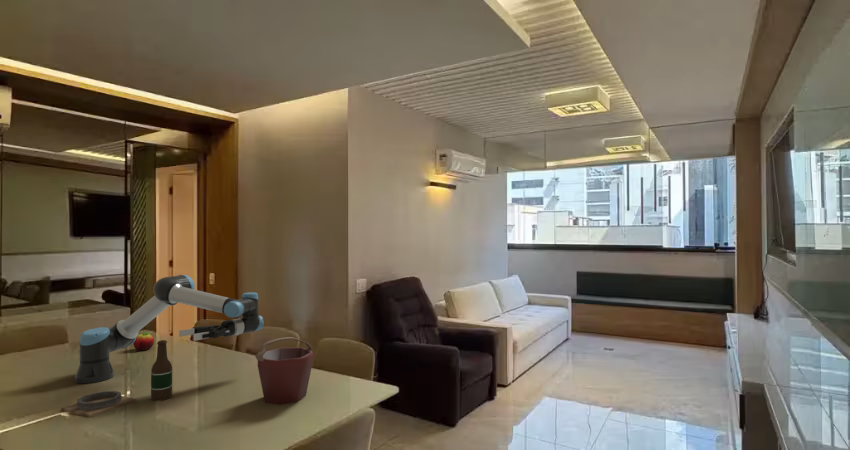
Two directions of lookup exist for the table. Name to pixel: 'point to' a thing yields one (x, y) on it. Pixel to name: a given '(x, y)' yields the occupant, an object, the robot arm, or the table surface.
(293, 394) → the bucket
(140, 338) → the fruit
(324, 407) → the table surface
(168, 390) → the beer bottle
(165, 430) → the table surface
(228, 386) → the table surface
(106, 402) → the collar stand
